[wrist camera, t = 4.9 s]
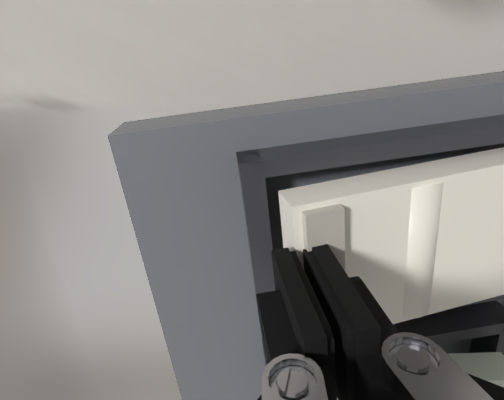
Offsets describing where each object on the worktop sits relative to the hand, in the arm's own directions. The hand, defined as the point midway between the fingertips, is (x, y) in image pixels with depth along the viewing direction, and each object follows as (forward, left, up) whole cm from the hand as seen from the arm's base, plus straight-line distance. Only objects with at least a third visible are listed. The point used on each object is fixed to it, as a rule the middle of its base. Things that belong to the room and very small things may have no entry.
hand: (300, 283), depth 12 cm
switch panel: (-4, +4, -6) cm, 8 cm away
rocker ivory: (-4, 0, -1) cm, 4 cm away
